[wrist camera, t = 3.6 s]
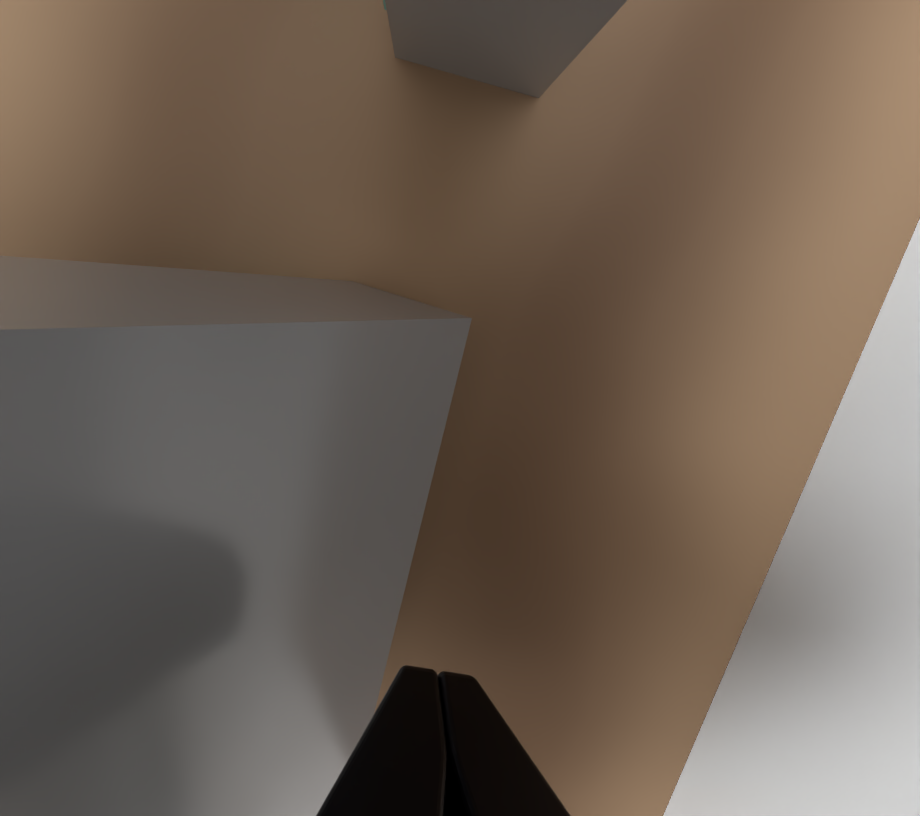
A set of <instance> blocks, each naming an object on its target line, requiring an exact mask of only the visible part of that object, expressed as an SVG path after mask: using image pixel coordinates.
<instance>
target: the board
mask: <svg viewBox="0 0 920 816" xmlns="http://www.w3.org/2000/svg"><path fill="white" fill-rule="evenodd" d="M919 218H920V0H627V1H626V3H625V4H624V5H623V6H622V7H621V8H620V9H619V10H618V11H617V12H616V14H615V15H614V16H613V17H612V18H611V19H610V20H609V21H608V22H607V23H606V25H605V26H604V27H603V28H602V29H601V30H600V31H599V32H598V33H597V35H596V36H595V37H594V38H593V39H592V40H591V41H590V42H589V43H588V44H587V46H586V47H585V48H584V49H583V50H582V51H581V52H580V53H579V54H578V55H577V57H576V58H575V59H574V60H573V61H572V62H571V63H570V64H569V65H568V67H567V68H566V69H565V70H564V71H563V72H562V73H561V74H560V75H559V76H558V78H557V79H556V80H555V81H554V82H553V83H552V84H551V85H550V86H549V87H548V89H547V90H546V91H545V92H544V93H543V94H542V95H541V96H540V97H539V98H536V97H532V96H529V95H525V94H522V93H518V92H515V91H511V90H508V89H504V88H501V87H497V86H494V85H490V84H487V83H483V82H480V81H476V80H473V79H469V78H466V77H462V76H459V75H455V74H452V73H448V72H444V71H441V70H437V69H434V68H430V67H427V66H423V65H420V64H416V63H413V62H409V61H406V60H402V59H399V58H395V55H394V49H393V43H392V37H391V32H390V26H389V20H388V14H387V10H384V5H383V0H0V256H13V257H27V258H41V259H55V260H69V261H83V262H97V263H110V264H124V265H138V266H152V267H166V268H180V269H194V270H207V271H221V272H235V273H249V274H263V275H277V276H291V277H304V278H318V279H332V280H346V281H354V282H357V283H361V284H364V285H367V286H370V287H374V288H377V289H380V290H383V291H386V292H390V293H393V294H396V295H399V296H403V297H406V298H409V299H412V300H415V301H419V302H422V303H425V304H428V305H431V306H435V307H438V308H441V309H444V310H448V311H451V312H454V313H457V314H460V315H464V316H467V317H470V318H472V320H471V324H470V328H469V332H468V336H467V340H466V344H465V348H464V352H463V356H462V360H461V364H460V368H459V372H458V376H457V381H456V385H455V389H454V393H453V397H452V401H451V405H450V409H449V413H448V417H447V421H446V425H445V429H444V433H443V437H442V441H441V445H440V449H439V453H438V457H437V461H436V465H435V469H434V474H433V478H432V482H431V486H430V490H429V494H428V498H427V502H426V506H425V510H424V514H423V518H422V522H421V526H420V530H419V534H418V538H417V542H416V546H415V550H414V554H413V558H412V562H411V566H410V571H409V575H408V579H407V583H406V587H405V591H404V595H403V599H402V603H401V607H400V611H399V615H398V619H397V623H396V627H395V631H394V635H393V639H392V643H391V647H390V651H389V655H388V659H387V664H386V668H385V672H384V676H383V680H382V684H381V688H380V692H379V696H378V700H377V704H376V708H375V711H376V710H377V708H378V706H379V704H380V703H381V701H382V699H383V697H384V696H385V694H386V692H387V690H388V689H389V687H390V685H391V683H392V682H393V680H394V678H395V676H396V675H397V673H398V671H399V669H400V668H401V667H402V666H405V665H410V666H416V667H423V668H429V669H433V670H434V671H435V672H436V673H437V675H438V674H439V673H440V672H442V671H448V672H454V673H461V674H467V675H471V676H473V677H474V678H475V679H476V680H477V681H478V682H479V684H480V685H481V687H482V688H483V689H484V691H485V692H486V694H487V695H488V697H489V698H490V700H491V701H492V702H493V704H494V705H495V707H496V708H497V710H498V711H499V713H500V714H501V716H502V717H503V718H504V720H505V721H506V723H507V724H508V726H509V727H510V729H511V730H512V731H513V733H514V734H515V736H516V737H517V739H518V740H519V742H520V743H521V744H522V746H523V747H524V749H525V750H526V752H527V753H528V755H529V756H530V758H531V759H532V760H533V762H534V763H535V765H536V766H537V768H538V769H539V771H540V772H541V773H542V775H543V776H544V778H545V779H546V781H547V782H548V784H549V785H550V786H551V788H552V789H553V791H554V792H555V794H556V795H557V797H558V798H559V799H560V801H561V802H562V804H563V805H564V807H565V808H566V810H567V811H568V813H569V814H570V815H571V816H663V814H664V812H665V810H666V807H667V805H668V803H669V800H670V798H671V796H672V793H673V791H674V789H675V786H676V784H677V782H678V779H679V777H680V775H681V772H682V770H683V768H684V766H685V763H686V761H687V759H688V756H689V754H690V752H691V749H692V747H693V745H694V742H695V740H696V738H697V735H698V733H699V731H700V728H701V726H702V724H703V721H704V719H705V717H706V714H707V712H708V710H709V707H710V705H711V703H712V700H713V698H714V696H715V693H716V691H717V689H718V686H719V684H720V682H721V679H722V677H723V675H724V672H725V670H726V668H727V665H728V663H729V661H730V658H731V656H732V654H733V651H734V649H735V647H736V644H737V642H738V640H739V637H740V635H741V633H742V630H743V628H744V626H745V623H746V621H747V619H748V616H749V614H750V612H751V610H752V607H753V605H754V603H755V600H756V598H757V596H758V593H759V591H760V589H761V586H762V584H763V582H764V579H765V577H766V575H767V572H768V570H769V568H770V565H771V563H772V561H773V558H774V556H775V554H776V551H777V549H778V547H779V544H780V542H781V540H782V537H783V535H784V533H785V530H786V528H787V526H788V523H789V521H790V519H791V516H792V514H793V512H794V509H795V507H796V505H797V502H798V500H799V498H800V495H801V493H802V491H803V488H804V486H805V484H806V481H807V479H808V477H809V474H810V472H811V470H812V467H813V465H814V463H815V460H816V458H817V456H818V453H819V451H820V449H821V447H822V444H823V442H824V440H825V437H826V435H827V433H828V430H829V428H830V426H831V423H832V421H833V419H834V416H835V414H836V412H837V409H838V407H839V405H840V402H841V400H842V398H843V395H844V393H845V391H846V388H847V386H848V384H849V381H850V379H851V377H852V374H853V372H854V370H855V367H856V365H857V363H858V360H859V358H860V356H861V353H862V351H863V349H864V346H865V344H866V342H867V339H868V337H869V335H870V332H871V330H872V328H873V325H874V323H875V321H876V318H877V316H878V314H879V311H880V309H881V307H882V304H883V302H884V300H885V297H886V295H887V293H888V291H889V288H890V286H891V284H892V281H893V279H894V277H895V274H896V272H897V270H898V267H899V265H900V263H901V260H902V258H903V256H904V253H905V251H906V249H907V246H908V244H909V242H910V239H911V237H912V235H913V232H914V230H915V228H916V225H917V223H918V221H919ZM374 713H375V712H374Z"/></svg>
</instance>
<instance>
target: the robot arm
mask: <svg viewBox="0 0 920 816" xmlns="http://www.w3.org/2000/svg"><path fill="white" fill-rule="evenodd" d="M316 816H571V815H570V814H569V813H568V811H567V810H566V808H565V807H564V805H563V804H562V802H561V801H560V799H559V798H558V797H557V795H556V794H555V792H554V791H553V789H552V788H551V786H550V785H549V784H548V782H547V781H546V779H545V778H544V776H543V775H542V773H541V772H540V771H539V769H538V768H537V766H536V765H535V763H534V762H533V760H532V759H531V758H530V756H529V755H528V753H527V752H526V750H525V749H524V747H523V746H522V744H521V743H520V742H519V740H518V739H517V737H516V736H515V734H514V733H513V731H512V730H511V729H510V727H509V726H508V724H507V723H506V721H505V720H504V718H503V717H502V716H501V714H500V713H499V711H498V710H497V708H496V707H495V705H494V704H493V702H492V701H491V700H490V698H489V697H488V695H487V694H486V692H485V691H484V689H483V688H482V687H481V685H480V684H479V682H478V681H477V680H476V679H475V678H474V677H473V676H471V675H467V674H461V673H454V672H448V671H442V672H440V673H439V674H438V675H437V673H436V672H435V671H434V670H433V669H429V668H423V667H416V666H410V665H405V666H402V667H401V668H400V669H399V671H398V673H397V675H396V676H395V678H394V680H393V682H392V683H391V685H390V687H389V689H388V690H387V692H386V694H385V696H384V697H383V699H382V701H381V703H380V704H379V706H378V708H377V710H376V711H375V713H374V715H373V717H372V718H371V720H370V722H369V724H368V725H367V727H366V729H365V731H364V733H363V734H362V736H361V738H360V740H359V741H358V743H357V745H356V747H355V748H354V750H353V752H352V754H351V755H350V757H349V759H348V761H347V762H346V764H345V766H344V768H343V769H342V771H341V773H340V775H339V776H338V778H337V780H336V782H335V783H334V785H333V787H332V789H331V790H330V792H329V794H328V796H327V797H326V799H325V801H324V803H323V804H322V806H321V808H320V810H319V811H318V813H317V815H316Z"/></svg>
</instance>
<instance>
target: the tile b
mask: <svg viewBox="0 0 920 816" xmlns="http://www.w3.org/2000/svg"><path fill="white" fill-rule="evenodd" d="M626 1H627V0H383V5H384V10H387V14H388V20H389V26H390V32H391V37H392V43H393V49H394V55H395V58H399V59H402V60H406V61H409V62H413V63H416V64H420V65H423V66H427V67H430V68H434V69H437V70H441V71H444V72H448V73H452V74H455V75H459V76H462V77H466V78H469V79H473V80H476V81H480V82H483V83H487V84H490V85H494V86H497V87H501V88H504V89H508V90H511V91H515V92H518V93H522V94H525V95H529V96H532V97H536V98H539V97H540V96H541V95H542V94H543V93H544V92H545V91H546V90H547V89H548V87H549V86H550V85H551V84H552V83H553V82H554V81H555V80H556V79H557V78H558V76H559V75H560V74H561V73H562V72H563V71H564V70H565V69H566V68H567V67H568V65H569V64H570V63H571V62H572V61H573V60H574V59H575V58H576V57H577V55H578V54H579V53H580V52H581V51H582V50H583V49H584V48H585V47H586V46H587V44H588V43H589V42H590V41H591V40H592V39H593V38H594V37H595V36H596V35H597V33H598V32H599V31H600V30H601V29H602V28H603V27H604V26H605V25H606V23H607V22H608V21H609V20H610V19H611V18H612V17H613V16H614V15H615V14H616V12H617V11H618V10H619V9H620V8H621V7H622V6H623V5H624V4H625V3H626Z"/></svg>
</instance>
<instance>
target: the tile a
mask: <svg viewBox="0 0 920 816" xmlns="http://www.w3.org/2000/svg"><path fill="white" fill-rule="evenodd" d="M471 320H472V318H470V317H467V316H464V315H460V314H457V313H454V312H451V311H448V310H444V309H441V308H438V307H435V306H431V305H428V304H425V303H422V302H419V301H415V300H412V299H409V298H406V297H403V296H399V295H396V294H393V293H390V292H386V291H383V290H380V289H377V288H374V287H370V286H367V285H364V284H361V283H357V282H354V281H346V280H332V279H318V278H304V277H291V276H277V275H263V274H249V273H235V272H221V271H207V270H194V269H180V268H166V267H152V266H138V265H124V264H110V263H97V262H83V261H69V260H55V259H41V258H27V257H13V256H0V816H316V815H317V813H318V811H319V810H320V808H321V806H322V804H323V803H324V801H325V799H326V797H327V796H328V794H329V792H330V790H331V789H332V787H333V785H334V783H335V782H336V780H337V778H338V776H339V775H340V773H341V771H342V769H343V768H344V766H345V764H346V762H347V761H348V759H349V757H350V755H351V754H352V752H353V750H354V748H355V747H356V745H357V743H358V741H359V740H360V738H361V736H362V734H363V733H364V731H365V729H366V727H367V725H368V724H369V722H370V720H371V718H372V717H373V715H374V712H375V708H376V704H377V700H378V696H379V692H380V688H381V684H382V680H383V676H384V672H385V668H386V664H387V659H388V655H389V651H390V647H391V643H392V639H393V635H394V631H395V627H396V623H397V619H398V615H399V611H400V607H401V603H402V599H403V595H404V591H405V587H406V583H407V579H408V575H409V571H410V566H411V562H412V558H413V554H414V550H415V546H416V542H417V538H418V534H419V530H420V526H421V522H422V518H423V514H424V510H425V506H426V502H427V498H428V494H429V490H430V486H431V482H432V478H433V474H434V469H435V465H436V461H437V457H438V453H439V449H440V445H441V441H442V437H443V433H444V429H445V425H446V421H447V417H448V413H449V409H450V405H451V401H452V397H453V393H454V389H455V385H456V381H457V376H458V372H459V368H460V364H461V360H462V356H463V352H464V348H465V344H466V340H467V336H468V332H469V328H470V324H471Z"/></svg>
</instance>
